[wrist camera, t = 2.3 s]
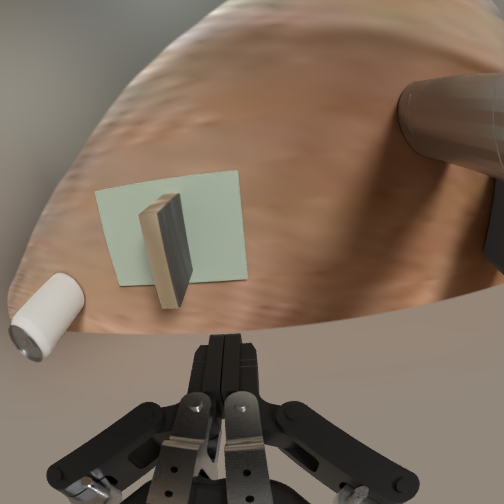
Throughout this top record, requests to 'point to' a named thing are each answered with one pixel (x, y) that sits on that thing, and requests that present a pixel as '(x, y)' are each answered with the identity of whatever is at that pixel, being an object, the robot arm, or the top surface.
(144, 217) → the tile
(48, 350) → the can
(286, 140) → the top surface
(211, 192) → the mat
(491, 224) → the storage bin
